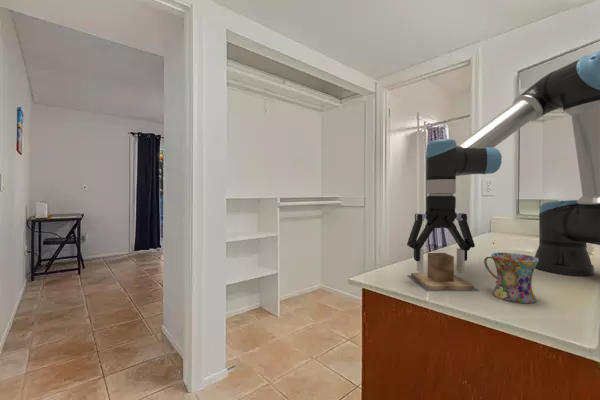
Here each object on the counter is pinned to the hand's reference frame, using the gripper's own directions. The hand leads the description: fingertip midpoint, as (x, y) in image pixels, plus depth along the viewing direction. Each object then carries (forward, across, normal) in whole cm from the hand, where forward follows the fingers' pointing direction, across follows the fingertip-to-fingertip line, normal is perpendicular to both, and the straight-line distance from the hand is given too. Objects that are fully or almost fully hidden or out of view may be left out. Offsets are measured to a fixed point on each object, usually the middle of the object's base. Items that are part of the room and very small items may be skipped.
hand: (440, 272), depth 81 cm
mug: (+4, -12, +10) cm, 16 cm away
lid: (+3, 0, 0) cm, 3 cm away
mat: (+4, 0, 0) cm, 4 cm away
